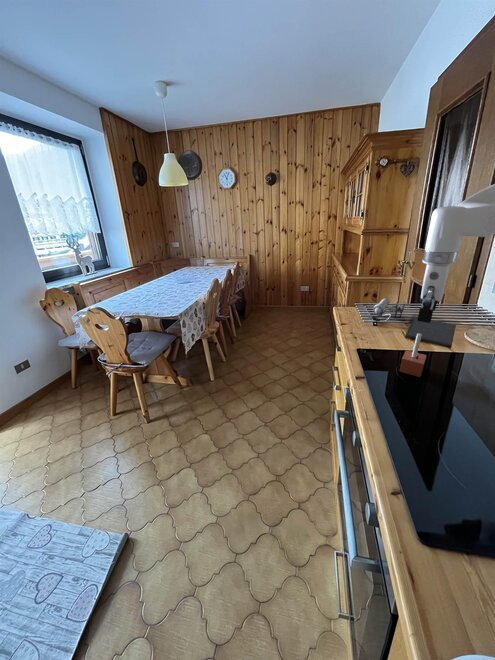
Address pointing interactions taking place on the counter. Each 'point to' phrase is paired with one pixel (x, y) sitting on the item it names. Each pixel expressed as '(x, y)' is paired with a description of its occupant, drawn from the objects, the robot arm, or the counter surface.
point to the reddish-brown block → (412, 364)
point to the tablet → (432, 332)
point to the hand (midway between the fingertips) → (426, 315)
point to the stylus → (416, 345)
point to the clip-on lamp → (383, 305)
